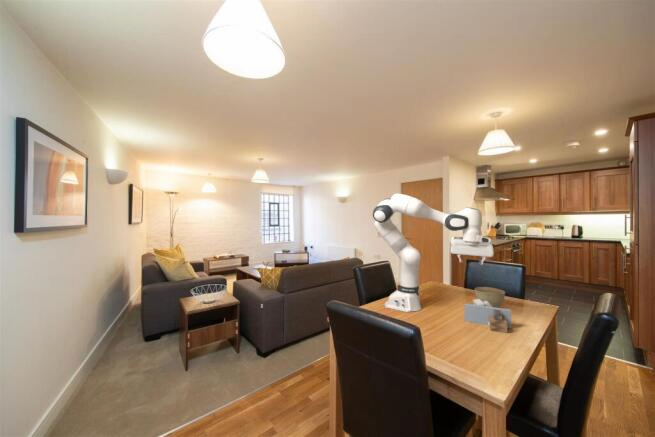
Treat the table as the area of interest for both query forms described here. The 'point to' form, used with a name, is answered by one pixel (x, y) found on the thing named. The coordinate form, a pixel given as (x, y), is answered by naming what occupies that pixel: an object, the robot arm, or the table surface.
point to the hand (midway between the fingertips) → (470, 263)
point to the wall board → (484, 314)
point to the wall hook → (481, 303)
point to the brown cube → (498, 322)
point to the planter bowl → (490, 295)
